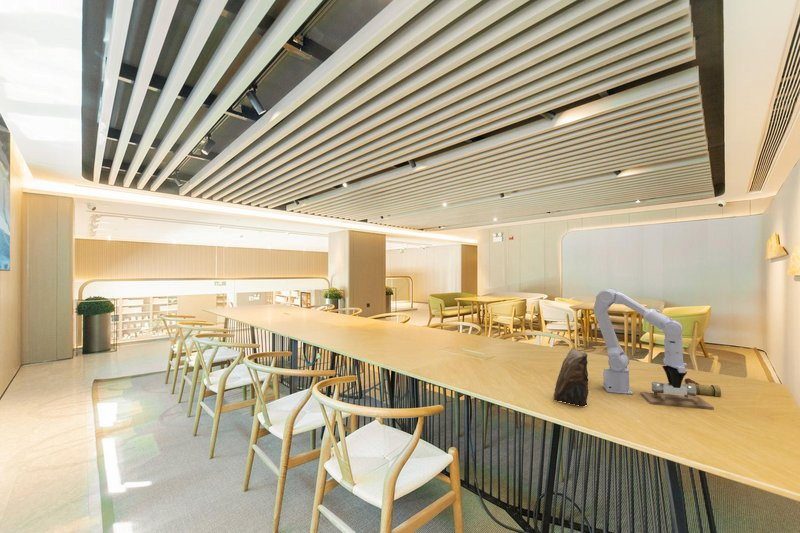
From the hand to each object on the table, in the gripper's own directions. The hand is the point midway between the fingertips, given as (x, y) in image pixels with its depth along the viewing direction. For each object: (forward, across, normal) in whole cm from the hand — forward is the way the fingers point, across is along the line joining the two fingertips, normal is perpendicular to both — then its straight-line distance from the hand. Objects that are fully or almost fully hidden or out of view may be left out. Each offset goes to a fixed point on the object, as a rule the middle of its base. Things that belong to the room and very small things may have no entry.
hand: (674, 386), depth 135 cm
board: (+6, 0, 0) cm, 6 cm away
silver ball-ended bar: (+3, 0, 0) cm, 3 cm away
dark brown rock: (+6, -10, +39) cm, 41 cm away
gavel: (+7, +21, -15) cm, 27 cm away
